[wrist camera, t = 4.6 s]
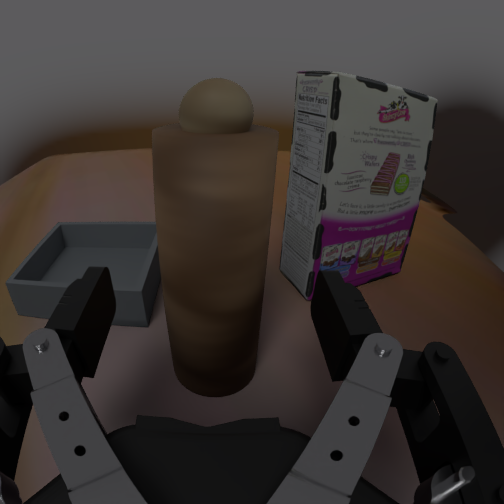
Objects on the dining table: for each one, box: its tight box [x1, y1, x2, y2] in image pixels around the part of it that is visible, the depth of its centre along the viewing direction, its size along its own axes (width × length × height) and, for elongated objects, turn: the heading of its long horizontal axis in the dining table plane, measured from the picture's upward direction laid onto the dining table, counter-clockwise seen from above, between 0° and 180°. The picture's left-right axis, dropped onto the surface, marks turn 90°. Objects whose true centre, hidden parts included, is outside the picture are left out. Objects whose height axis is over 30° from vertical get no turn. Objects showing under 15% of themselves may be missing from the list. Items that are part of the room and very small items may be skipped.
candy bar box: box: [280, 71, 438, 300], centre depth 23 cm, size 11×5×16 cm, turn 115°
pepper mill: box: [152, 78, 279, 397], centre depth 14 cm, size 5×5×15 cm
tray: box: [6, 222, 161, 327], centre depth 23 cm, size 11×10×3 cm
